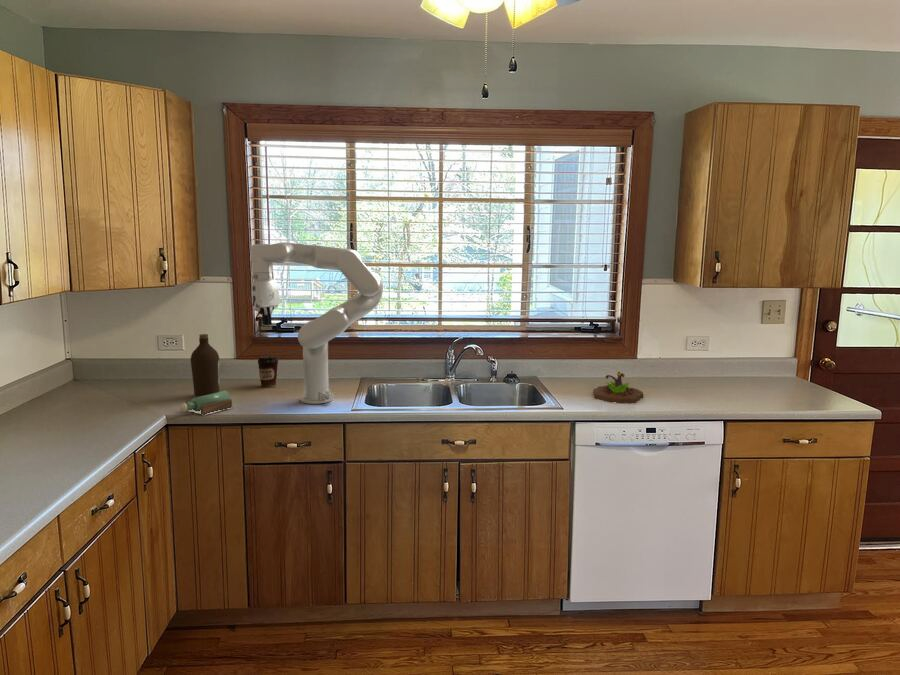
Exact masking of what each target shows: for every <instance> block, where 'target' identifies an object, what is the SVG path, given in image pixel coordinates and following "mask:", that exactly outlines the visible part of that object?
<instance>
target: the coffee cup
mask: <svg viewBox="0 0 900 675" xmlns="http://www.w3.org/2000/svg"><path fill="white" fill-rule="evenodd" d="M277 357H278V356H277V355H274V354H273V355H272V354H271V355H262V356H261V355H260V356H259V358H258V360H257V365H258V374H259V380H260V381H259V382H260V387H261V388H275V387H277V377H278V366H279V365H278V364H279V358H277Z"/></svg>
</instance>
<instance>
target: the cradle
mask: <svg viewBox="0 0 900 675" xmlns="http://www.w3.org/2000/svg"><path fill="white" fill-rule="evenodd" d="M191 400H192V399H190V400H185V401H184V403H188V402H191ZM231 407H232V408H233V400H232V398H230V399H226V400H222V401H218V402H214V403H210V404H206V405H202V406H201V414H203V415H205V414H207V413H210V412H214V411H218V410H223V409H227V408H231Z"/></svg>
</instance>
